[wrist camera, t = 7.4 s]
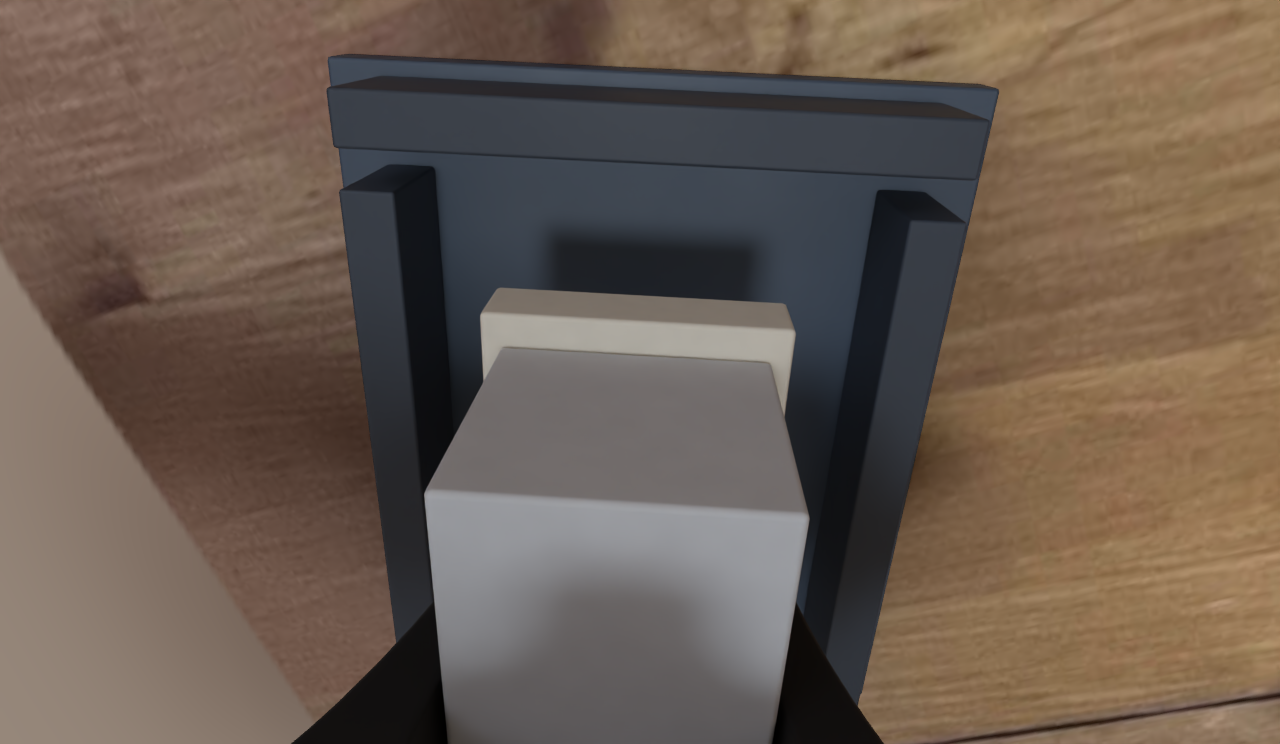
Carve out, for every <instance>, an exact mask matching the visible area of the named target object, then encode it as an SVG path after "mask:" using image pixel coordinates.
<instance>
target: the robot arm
mask: <svg viewBox="0 0 1280 744" xmlns="http://www.w3.org/2000/svg"><path fill="white" fill-rule="evenodd" d="M291 744H448V739H447V729H446V718H445V708H444V697H443V687H442V676H441V666H440V655H439V645H438V634H437V624H436V613H435V603H434V601H433V602H432V603H431V605H430V606H429V607H428V608H427V609H426V610H425V612H424V613H423V614H422V615H421V616H420V617H419V619H418V620H417V621H416V622H415V623H414V624H413V625H412V627H411V628H410V629H409V630H408V631H407V632H406V633H405V634H404V635H403V636H402V637H401V639H400V640H399V641H398V642H397V643H396V644H395V645H394V646H393V647H392V648H391V650H390V651H389V652H388V653H387V654H386V655H385V656H384V657H383V658H382V659H381V660H380V661H379V662H378V663H377V664H376V665H375V666H374V667H373V668H372V669H371V670H370V671H369V672H368V673H367V674H366V675H365V676H364V677H363V678H362V679H361V680H360V681H359V682H358V683H357V684H356V685H355V686H354V687H353V688H352V689H351V690H350V691H349V692H348V693H347V694H346V695H345V696H344V697H343V698H342V699H341V700H340V701H339V702H338V703H337V704H336V705H335V706H334V707H332V708H331V709H330V710H329V711H328V712H327V713H326V714H325V715H324V716H323V717H321V718H320V719H319V720H318V721H317V722H316V723H315V724H314V725H312V726H311V727H310V728H309V729H308V730H307V731H306V732H304V733H303V734H302V735H301V736H300V737H299V738H297V739H296V740H295V741H294V742H293V743H291ZM772 744H884V743H883V742H882V740H881V739H880V738H879V736H878V735H877V733H876V732H875V731H874V729H873V728H872V727H871V725H870V724H869V722H868V721H867V720H866V718H865V717H864V715H863V714H862V712H861V711H860V709H859V708H858V706H857V705H856V703H855V702H854V700H853V699H852V697H851V696H850V694H849V693H848V691H847V689H846V688H845V686H844V685H843V683H842V682H841V680H840V678H839V677H838V675H837V674H836V672H835V671H834V669H833V667H832V666H831V664H830V662H829V661H828V659H827V657H826V656H825V654H824V652H823V651H822V649H821V647H820V645H819V644H818V642H817V640H816V638H815V637H814V635H813V633H812V631H811V629H810V628H809V626H808V624H807V622H806V620H805V618H804V616H803V614H802V612H801V610H800V608H799V606H798V604H797V602H796V604H795V610H794V616H793V622H792V628H791V634H790V641H789V647H788V653H787V659H786V665H785V671H784V677H783V683H782V689H781V695H780V701H779V707H778V713H777V719H776V725H775V731H774V737H773V743H772Z"/></svg>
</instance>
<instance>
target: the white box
mask: <svg viewBox="0 0 1280 744" xmlns="http://www.w3.org/2000/svg"><path fill="white" fill-rule="evenodd" d="M480 325H481V344H482V364H483V384H482V386H481V388H480V389H479V391H478V393H477V395H476V397H475V399H474V401H473V403H472V404H471V406H470V408H469V410H468V412H467V414H466V416H465V418H464V419H463V421H462V423H461V425H460V427H459V429H458V431H457V432H456V434H455V436H454V438H453V440H452V442H451V444H450V446H449V447H448V449H447V451H446V453H445V455H444V457H443V459H442V461H441V462H440V464H439V466H438V468H437V470H436V472H435V474H434V476H433V477H432V479H431V481H430V483H429V485H428V487H427V489H426V491H425V493H424V498H425V508H426V519H427V529H428V540H429V550H430V561H431V571H432V582H433V592H434V603H435V613H436V624H437V634H438V645H439V655H440V666H441V676H442V687H443V697H444V708H445V718H446V729H447V739H448V744H772V743H773V737H774V731H775V725H776V719H777V713H778V707H779V701H780V695H781V689H782V683H783V677H784V671H785V665H786V659H787V653H788V647H789V641H790V634H791V628H792V622H793V616H794V610H795V604H796V598H797V592H798V586H799V580H800V574H801V568H802V562H803V556H804V550H805V544H806V538H807V532H808V526H809V520H810V518H809V514H808V510H807V506H806V502H805V498H804V494H803V490H802V486H801V482H800V478H799V474H798V470H797V466H796V462H795V458H794V454H793V450H792V446H791V442H790V438H789V434H788V430H787V426H786V422H785V418H784V416H785V409H786V402H787V394H788V387H789V380H790V373H791V366H792V358H793V351H794V344H795V337H796V333H795V329H794V326H793V324H792V321H791V318H790V315H789V312H788V309H787V307H786V305H785V304H783V303H766V302H748V301H730V300H713V299H695V298H677V297H659V296H641V295H623V294H605V293H587V292H570V291H552V290H534V289H516V288H498V289H497V290H496V291H495V293H494V294H493V296H492V297H491V299H490V300H489V302H488V303H487V305H486V306H485V308H484V309H483V311H482V312H481V315H480Z"/></svg>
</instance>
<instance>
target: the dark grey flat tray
mask: <svg viewBox="0 0 1280 744" xmlns="http://www.w3.org/2000/svg"><path fill="white" fill-rule="evenodd" d="M328 66H329V75H330V83H331V87H328V88H327V98H328V106H329V114H330V122H331V130H332V138H333V145H334V147H336V148H339V155H340V163H341V171H342V179H343V187H344V188H343V189H341V190H340V192H339V194H340V202H341V210H342V218H343V226H344V234H345V242H346V250H347V257H348V265H349V273H350V281H351V289H352V297H353V305H354V313H355V321H356V328H357V336H358V344H359V352H360V360H361V368H362V376H363V384H364V392H365V399H366V407H367V415H368V423H369V431H370V439H371V447H372V455H373V463H374V470H375V478H376V486H377V494H378V502H379V510H380V518H381V526H382V534H383V541H384V549H385V557H386V565H387V573H388V581H389V589H390V597H391V605H392V612H393V620H394V628H395V636H396V643H397V642H398V641H399V640H400V639H401V637H402V636H403V635H404V634H405V633H406V632H407V631H408V630H409V629H410V628H411V627H412V625H413V624H414V623H415V622H416V621H417V620H418V619H419V617H420V616H421V615H422V614H423V613H424V612H425V610H426V609H427V608H428V607H429V606H430V605H431V603H432V602H433V601H434V592H433V582H432V571H431V561H430V550H429V540H428V529H427V519H426V508H425V498H424V493H425V491H426V489H427V487H428V485H429V483H430V481H431V479H432V477H433V476H434V474H435V472H436V470H437V468H438V466H439V464H440V462H441V461H442V459H443V457H444V455H445V453H446V451H447V449H448V447H449V446H450V444H451V442H452V440H453V438H454V436H455V434H456V432H457V431H458V429H459V427H460V425H461V423H462V421H463V419H464V418H465V416H466V414H467V412H468V410H469V408H470V406H471V404H472V403H473V401H474V399H475V397H476V395H477V393H478V391H479V389H480V388H481V386H482V384H483V364H482V344H481V325H480V315H481V312H482V311H483V309H484V308H485V306H486V305H487V303H488V302H489V300H490V299H491V297H492V296H493V294H494V293H495V291H496V290H497V289H498V288H516V289H534V290H552V291H570V292H587V293H605V294H623V295H641V296H659V297H677V298H695V299H713V300H730V301H748V302H766V303H783V304H785V305H786V307H787V309H788V312H789V315H790V318H791V321H792V324H793V326H794V329H795V333H796V337H795V344H794V351H793V358H792V366H791V373H790V380H789V387H788V394H787V402H786V409H785V416H784V418H785V422H786V426H787V430H788V434H789V438H790V442H791V446H792V450H793V454H794V458H795V462H796V466H797V470H798V474H799V478H800V482H801V486H802V490H803V494H804V498H805V502H806V506H807V510H808V514H809V518H810V520H809V526H808V532H807V538H806V544H805V550H804V556H803V562H802V568H801V574H800V580H799V586H798V592H797V598H796V602H797V604H798V606H799V608H800V610H801V612H802V614H803V616H804V618H805V620H806V622H807V624H808V626H809V628H810V629H811V631H812V633H813V635H814V637H815V638H816V640H817V642H818V644H819V645H820V647H821V649H822V651H823V652H824V654H825V656H826V657H827V659H828V661H829V662H830V664H831V666H832V667H833V669H834V671H835V672H836V674H837V675H838V677H839V678H840V680H841V682H842V683H843V685H844V686H845V688H846V689H847V691H848V693H849V694H850V696H851V697H852V699H853V700H854V702H855V703H856V705H857V706H858V701H859V697H860V694H861V693H862V689H863V684H864V680H865V676H866V671H867V667H868V662H869V658H870V654H871V649H872V645H873V641H874V636H875V632H876V627H877V623H878V619H879V614H880V610H881V606H882V601H883V597H884V592H885V588H886V584H887V579H888V575H889V571H890V566H891V562H892V558H893V553H894V549H895V544H896V540H897V536H898V531H899V527H900V523H901V518H902V514H903V509H904V505H905V501H906V496H907V492H908V488H909V483H910V479H911V474H912V470H913V466H914V461H915V457H916V453H917V448H918V444H919V440H920V435H921V431H922V426H923V422H924V418H925V413H926V409H927V405H928V400H929V396H930V391H931V387H932V383H933V378H934V374H935V370H936V365H937V361H938V357H939V352H940V348H941V343H942V339H943V335H944V330H945V326H946V322H947V317H948V313H949V308H950V304H951V300H952V295H953V291H954V287H955V282H956V278H957V273H958V269H959V265H960V260H961V256H962V252H963V247H964V243H965V239H966V234H967V230H968V225H969V221H970V217H971V212H972V208H973V204H974V199H975V195H976V190H977V186H978V182H979V177H980V173H981V169H982V164H983V160H984V155H985V151H986V147H987V142H988V138H989V134H990V129H991V125H992V121H993V116H994V112H995V107H996V103H997V99H998V94H999V90H998V89H996V88H993V87H989V86H985V85H981V84H965V83H944V82H923V81H902V80H881V79H860V78H839V77H818V76H798V75H777V74H756V73H735V72H714V71H693V70H672V69H651V68H630V67H610V66H589V65H568V64H547V63H526V62H505V61H484V60H463V59H442V58H421V57H401V56H380V55H359V54H344V55H337V56H331V57H328Z"/></svg>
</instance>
